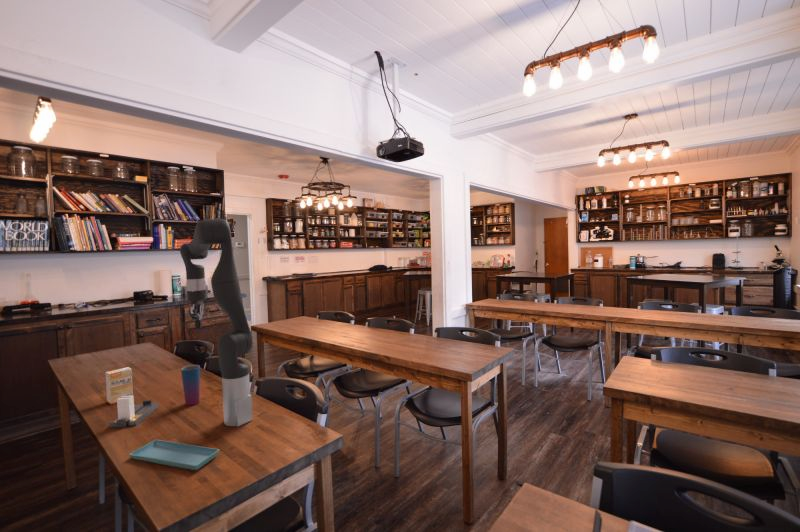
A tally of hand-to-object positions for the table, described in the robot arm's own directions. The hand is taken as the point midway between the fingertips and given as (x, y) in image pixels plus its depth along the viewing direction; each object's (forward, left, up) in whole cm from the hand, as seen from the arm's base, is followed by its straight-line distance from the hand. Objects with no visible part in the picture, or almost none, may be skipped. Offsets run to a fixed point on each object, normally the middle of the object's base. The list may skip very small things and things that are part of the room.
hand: (198, 328), depth 165 cm
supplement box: (+24, +22, -29) cm, 44 cm away
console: (0, +26, -29) cm, 39 cm away
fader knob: (-4, +30, -27) cm, 41 cm away
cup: (-7, +8, -29) cm, 31 cm away
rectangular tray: (-43, +33, -30) cm, 62 cm away
